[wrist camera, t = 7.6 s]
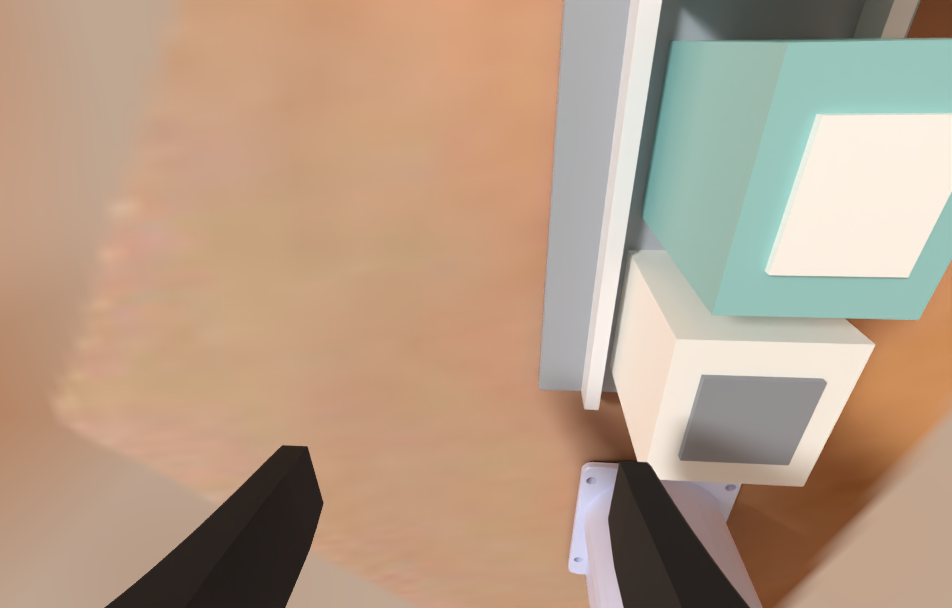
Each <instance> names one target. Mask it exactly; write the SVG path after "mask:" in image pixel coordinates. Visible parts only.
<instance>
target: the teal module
mask: <svg viewBox="0 0 952 608" xmlns="http://www.w3.org/2000/svg"><path fill="white" fill-rule="evenodd" d="M641 216H642V218H643V219H644V221H645V222H646V223H647V225H648V226H649V228H650V229H651V230H652V232H653V233H654V235H655V236H656V237H657V239H658V240H659V242H660V243H661V244H662V246H663V247H664V249H665V250H666V251H667V253H668V254H669V256H670V257H671V258H672V260H673V261H674V263H675V264H676V266H677V267H678V268H679V270H680V271H681V273H682V274H683V275H684V277H685V278H686V280H687V281H688V282H689V284H690V285H691V287H692V288H693V289H694V291H695V292H696V294H697V295H698V296H699V298H700V299H701V301H702V302H703V303H704V305H705V306H706V308H707V309H708V310H709V312H710V313H711V315H724V316H768V317H811V318H854V319H898V320H919V318H920V317H921V315H922V313H923V311H924V309H925V307H926V306H927V304H928V302H929V300H930V298H931V296H932V295H933V293H934V291H935V289H936V287H937V286H938V284H939V282H940V280H941V278H942V276H943V275H944V273H945V271H946V269H947V267H948V265H949V264H950V262H951V260H952V38H800V39H747V40H694V41H670V44H669V50H668V56H667V62H666V68H665V74H664V79H663V85H662V91H661V97H660V103H659V109H658V115H657V121H656V127H655V133H654V139H653V145H652V151H651V157H650V163H649V169H648V174H647V180H646V186H645V192H644V198H643V204H642V210H641Z"/></svg>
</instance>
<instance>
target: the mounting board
mask: <svg viewBox="0 0 952 608" xmlns="http://www.w3.org/2000/svg"><path fill="white" fill-rule="evenodd" d="M920 2H921V0H564V2H563V17H562V32H561V48H560V63H559V78H558V93H557V109H556V124H555V139H554V154H553V170H552V185H551V200H550V215H549V231H548V246H547V261H546V276H545V292H544V307H543V322H542V337H541V353H540V368H539V390H563V391H581V393H582V399H583V404H584V409H585V410H599V404H600V397H601V392H618V396H619V399H620V403H621V406H622V410H623V413H624V416H625V420H626V423H627V427H628V430H629V434H630V437H631V441H632V444H633V448H634V451H635V454H636V458H637V461H638V462H648V463H649V464H650V465H651V466H652V468H653V470H654V471H655V473H656V475H657V476H658V478H659V479H660V480H676V481H696V482H717V483H737V484H758V485H779V486H799V487H803V486H804V484H805V483H806V481H807V479H808V477H809V475H810V473H811V471H812V469H813V467H814V465H815V463H816V461H817V459H818V457H819V455H820V453H821V451H822V449H823V447H824V445H825V443H826V441H827V439H828V437H829V435H830V433H831V431H832V429H833V427H834V425H835V424H836V422H837V420H838V418H839V416H840V414H841V412H842V410H843V408H844V406H845V404H846V402H847V400H848V398H849V396H850V394H851V392H852V390H853V388H854V386H855V384H856V382H857V380H858V378H859V376H860V374H861V372H862V370H863V368H864V367H865V365H866V363H867V361H868V359H869V357H870V355H871V353H872V351H873V349H874V347H875V344H874V343H873V342H872V341H871V340H870V339H868V338H867V337H866V336H865V335H864V334H862V333H861V332H860V331H859V330H858V329H857V328H855V327H854V326H853V325H852V324H851V323H850V322H848V321H847V320H846V319H845V318H811V317H768V316H724V315H711V313H710V312H709V310H708V309H707V308H706V306H705V305H704V303H703V302H702V301H701V299H700V298H699V296H698V295H697V294H696V292H695V291H694V289H693V288H692V287H691V285H690V284H689V282H688V281H687V280H686V278H685V277H684V275H683V274H682V273H681V271H680V270H679V268H678V267H677V266H676V264H675V263H674V261H673V260H672V258H671V257H670V256H669V254H668V253H667V251H666V250H665V249H664V247H663V246H662V244H661V243H660V242H659V240H658V239H657V237H656V236H655V235H654V233H653V232H652V230H651V229H650V228H649V226H648V225H647V223H646V222H645V221H644V219H643V218H642V216H641V210H642V204H643V198H644V192H645V186H646V180H647V174H648V169H649V163H650V157H651V151H652V145H653V139H654V133H655V127H656V121H657V115H658V109H659V103H660V97H661V91H662V85H663V79H664V74H665V68H666V62H667V56H668V50H669V44H670V41H694V40H747V39H800V38H907V35H908V33H909V30H910V27H911V25H912V22H913V20H914V17H915V15H916V12H917V10H918V7H919V4H920Z"/></svg>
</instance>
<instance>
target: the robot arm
mask: <svg viewBox="0 0 952 608" xmlns="http://www.w3.org/2000/svg"><path fill="white" fill-rule="evenodd" d="M590 477H592V478H590ZM741 485H742V484H737V483H717V482H696V481H676V480H660V479H659V478H658V476H657V475H656V473H655V471H654V470H653V468H652V466H651V465H650V464H649V463H648V462H634V461H619V463H603V462H588V463H586V464H584V465H583V466H582V469H581V476H580V483H579V490H578V497H577V504H576V511H575V518H574V525H573V532H572V539H571V546H570V553H569V560H568V568H569V571H570V572H572V573H575V574H586V580H587V588H588V596H589V603H590V608H763V607H762V605H761V602H760V600H759V598H758V596H757V593H756V591H755V589H754V586H753V584H752V582H751V579H750V577H749V575H748V573H747V570H746V568H745V566H744V563H743V561H742V559H741V556H740V554H739V552H738V550H737V547H736V545H735V543H734V540H733V538H732V536H731V534H730V531H729V529H728V527H727V524H726V522H727V519H728V517H729V514H730V512H731V509H732V507H733V504H734V502H735V500H736V497H737V495H738V492H739V490H740V487H741ZM322 507H323V500H322V496H321V493H320V489H319V486H318V482H317V479H316V475H315V472H314V468H313V465H312V461H311V457H310V454H309V450H308V447H307V446H285V445H282V446H281V447H280V448H279V449H278V450H277V451H276V452H275V453H274V454H273V455H272V456H271V457H270V458H269V459H268V460H267V461H266V462H265V463H264V464H263V465H262V466H261V467H260V468H259V469H258V470H257V471H256V472H255V473H254V474H253V475H252V476H251V477H250V478H249V479H248V480H247V481H246V482H245V483H244V484H243V485H242V486H241V487H240V488H239V489H238V490H237V491H236V492H235V493H234V494H233V495H232V496H230V497H229V498H228V499H227V500H226V501H225V502H224V503H223V504H222V505H221V506H220V507H219V508H218V509H217V510H216V511H215V512H214V513H213V514H212V515H211V516H210V517H209V518H208V519H207V520H205V521H204V522H203V523H202V524H201V525H200V526H199V527H198V528H197V529H196V530H195V531H194V532H193V533H192V534H191V535H189V536H188V537H187V538H186V539H185V540H184V541H183V542H182V543H181V544H179V545H178V546H177V547H176V548H175V549H174V550H173V551H171V552H170V553H169V554H168V555H167V556H166V557H165V558H164V559H163V560H162V561H160V562H159V563H158V564H157V565H156V566H155V567H153V568H152V569H151V570H150V571H149V572H148V573H146V574H145V575H144V576H143V577H142V578H141V579H140V580H138V581H137V582H136V583H135V584H134V585H132V586H131V587H130V588H129V589H127V590H126V591H125V592H124V593H122V594H121V595H120V596H119V597H117V598H116V599H115V600H114V601H112V602H111V603H110V604H109V605H107V606H106V607H105V608H285V607H286V605H287V602H288V600H289V597H290V595H291V593H292V591H293V588H294V586H295V583H296V581H297V579H298V576H299V574H300V572H301V569H302V567H303V564H304V562H305V560H306V557H307V555H308V552H309V550H310V547H311V544H312V541H313V537H314V534H315V531H316V528H317V524H318V521H319V517H320V514H321V510H322Z"/></svg>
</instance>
